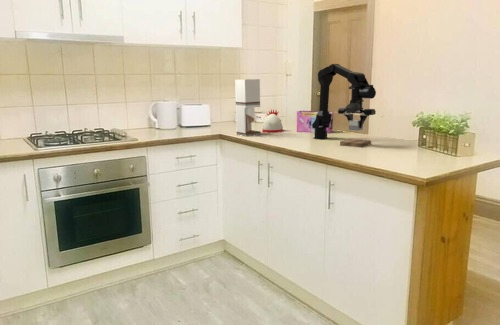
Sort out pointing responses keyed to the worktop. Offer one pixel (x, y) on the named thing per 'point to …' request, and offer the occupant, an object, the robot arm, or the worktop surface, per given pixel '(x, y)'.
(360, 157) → the worktop surface
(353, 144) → the walnut stand
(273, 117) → the white dome
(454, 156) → the worktop surface
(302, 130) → the gum box
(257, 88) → the coffee grinder
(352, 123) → the block
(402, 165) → the worktop surface
